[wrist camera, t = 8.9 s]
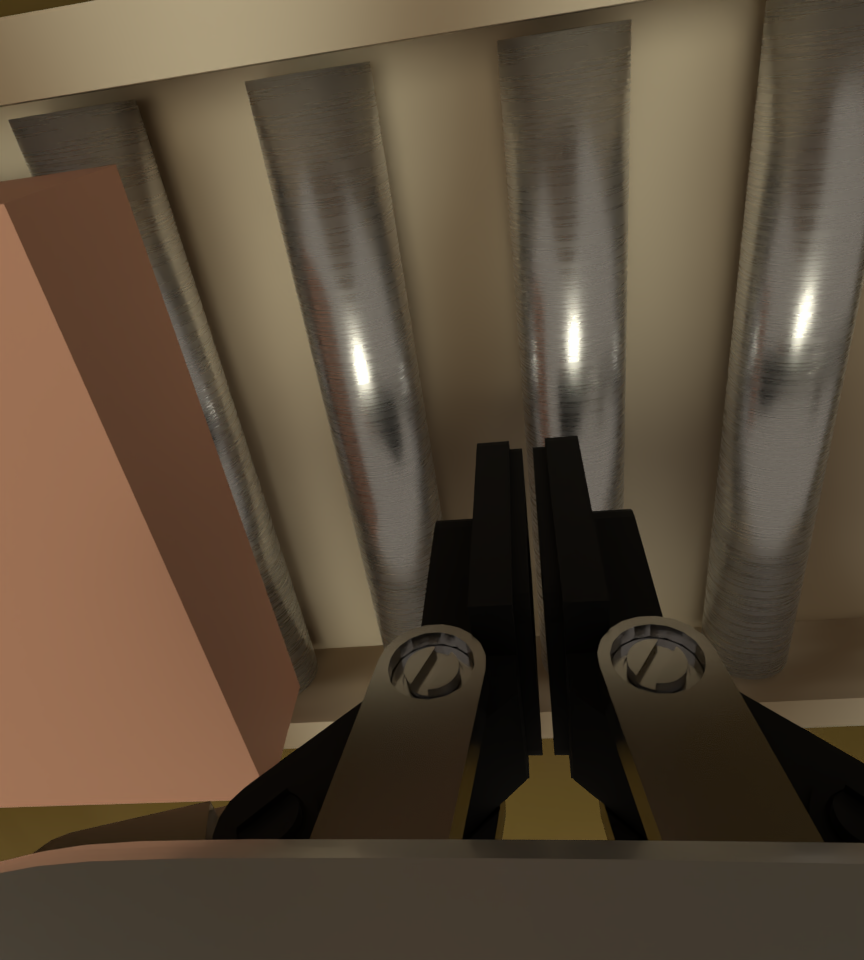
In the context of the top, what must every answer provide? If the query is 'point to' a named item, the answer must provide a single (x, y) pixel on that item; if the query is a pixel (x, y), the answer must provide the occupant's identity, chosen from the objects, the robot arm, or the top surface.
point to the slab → (117, 530)
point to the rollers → (540, 303)
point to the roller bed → (465, 281)
